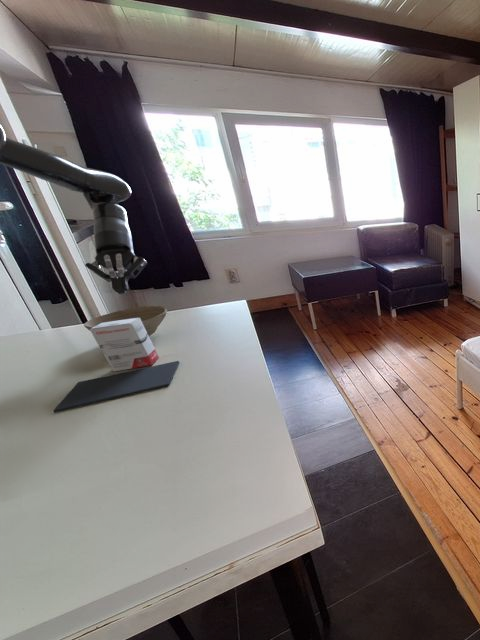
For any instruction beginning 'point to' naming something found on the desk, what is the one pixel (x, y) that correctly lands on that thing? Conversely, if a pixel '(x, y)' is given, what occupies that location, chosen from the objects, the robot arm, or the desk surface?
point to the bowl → (147, 314)
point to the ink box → (125, 344)
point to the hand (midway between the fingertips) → (121, 291)
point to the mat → (118, 385)
